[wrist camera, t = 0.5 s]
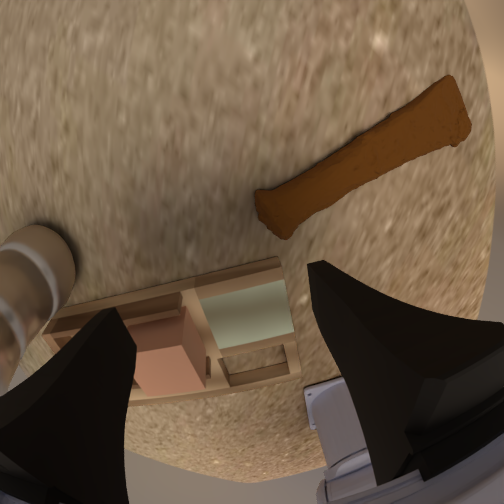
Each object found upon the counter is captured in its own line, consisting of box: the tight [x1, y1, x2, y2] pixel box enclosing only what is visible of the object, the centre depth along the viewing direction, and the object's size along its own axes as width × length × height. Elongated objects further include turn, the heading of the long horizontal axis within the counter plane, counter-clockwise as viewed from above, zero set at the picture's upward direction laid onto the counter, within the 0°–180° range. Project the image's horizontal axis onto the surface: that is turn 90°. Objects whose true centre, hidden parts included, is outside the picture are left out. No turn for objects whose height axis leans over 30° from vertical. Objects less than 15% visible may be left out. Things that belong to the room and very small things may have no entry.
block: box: [127, 306, 206, 397], centre depth 20 cm, size 4×4×4 cm
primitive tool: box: [255, 75, 472, 240], centre depth 17 cm, size 19×6×4 cm, turn 123°
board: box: [42, 256, 302, 407], centre depth 22 cm, size 12×19×4 cm, turn 103°
